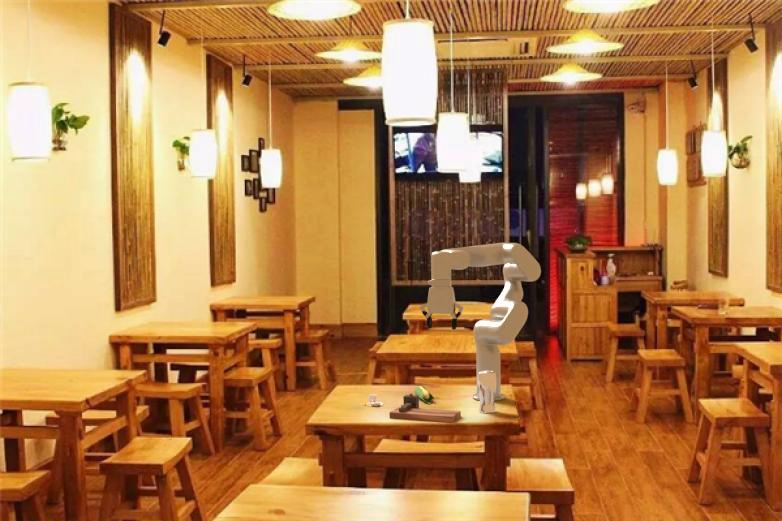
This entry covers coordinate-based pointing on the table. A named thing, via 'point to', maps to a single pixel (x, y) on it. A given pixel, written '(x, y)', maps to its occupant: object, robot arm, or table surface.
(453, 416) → the board
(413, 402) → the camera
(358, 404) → the table surface
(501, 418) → the table surface
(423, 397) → the edible corn
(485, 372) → the beer glass
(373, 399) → the teacup and saucer
